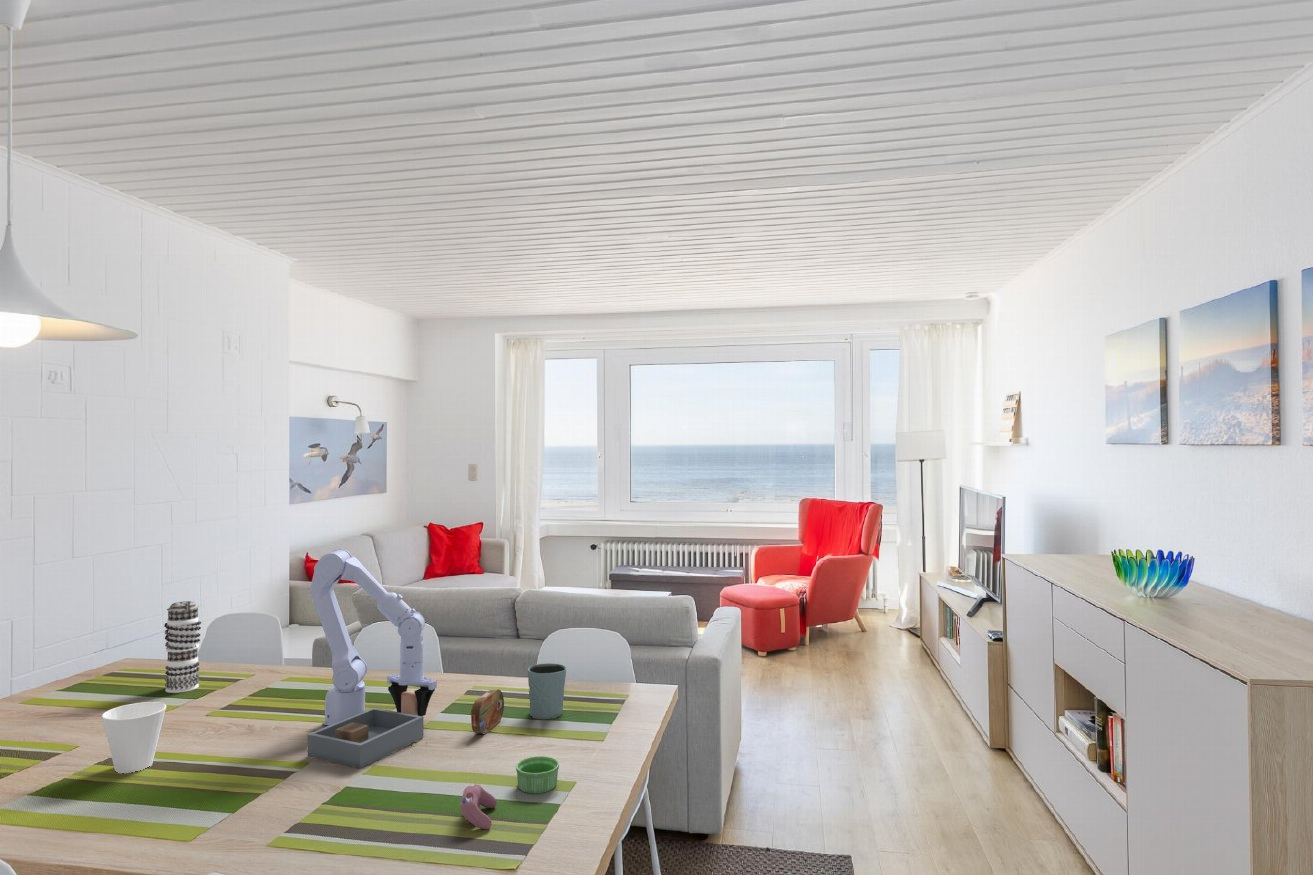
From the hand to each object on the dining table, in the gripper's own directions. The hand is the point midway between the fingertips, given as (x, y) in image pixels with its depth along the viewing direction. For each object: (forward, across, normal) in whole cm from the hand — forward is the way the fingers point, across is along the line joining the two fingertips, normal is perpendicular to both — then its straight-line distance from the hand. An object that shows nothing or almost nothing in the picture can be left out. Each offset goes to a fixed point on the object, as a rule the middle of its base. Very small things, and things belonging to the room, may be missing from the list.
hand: (411, 713), depth 198 cm
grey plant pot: (+2, +30, +18) cm, 35 cm away
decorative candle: (+2, -80, -5) cm, 80 cm away
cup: (+2, -36, -47) cm, 59 cm away
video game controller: (+2, +48, -37) cm, 61 cm away
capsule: (+2, 0, 0) cm, 2 cm away
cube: (+1, +2, -23) cm, 23 cm away
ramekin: (+2, +50, -20) cm, 54 cm away
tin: (+2, +21, +3) cm, 21 cm away
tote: (+2, +2, -18) cm, 18 cm away
